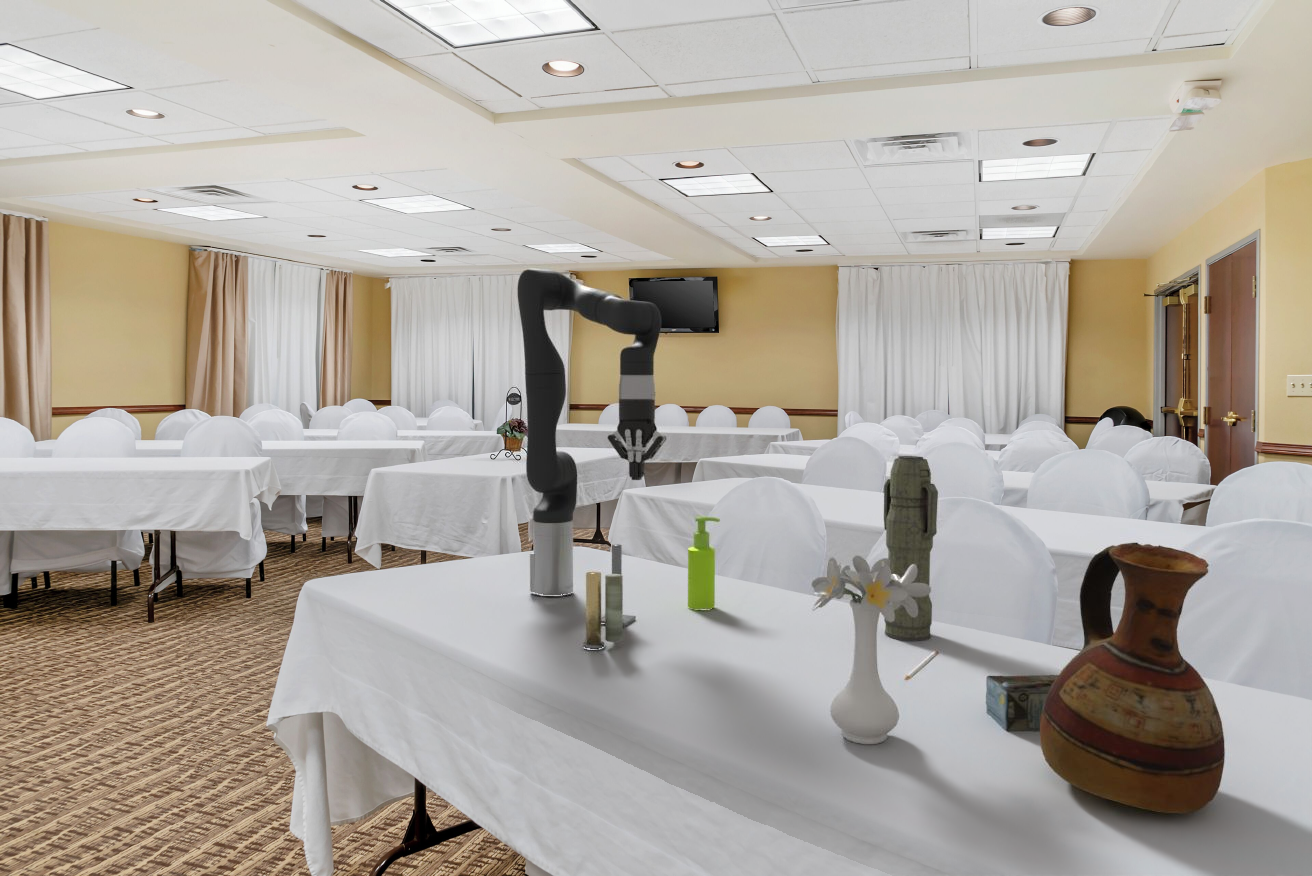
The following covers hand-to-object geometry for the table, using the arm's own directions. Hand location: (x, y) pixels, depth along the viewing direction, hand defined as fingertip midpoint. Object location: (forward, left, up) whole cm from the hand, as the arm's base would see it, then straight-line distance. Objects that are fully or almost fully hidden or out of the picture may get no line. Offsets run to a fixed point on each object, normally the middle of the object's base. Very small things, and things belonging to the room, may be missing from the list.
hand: (636, 479), depth 187 cm
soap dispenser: (+11, +12, -29) cm, 33 cm away
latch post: (+1, -24, -29) cm, 38 cm away
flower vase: (+54, -48, -29) cm, 78 cm away
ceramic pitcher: (+86, -54, -29) cm, 106 cm away
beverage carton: (+80, -33, -30) cm, 91 cm away
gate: (+2, -16, -27) cm, 32 cm away
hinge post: (-2, -6, -29) cm, 30 cm away
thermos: (+55, +6, -29) cm, 63 cm away
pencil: (+59, -13, -30) cm, 67 cm away
